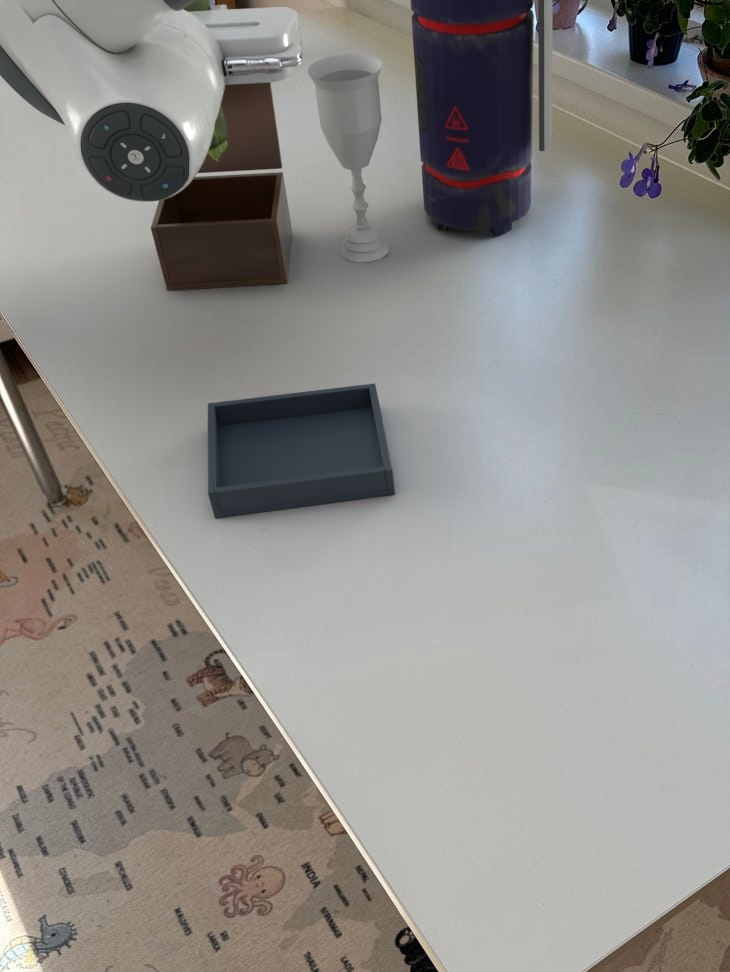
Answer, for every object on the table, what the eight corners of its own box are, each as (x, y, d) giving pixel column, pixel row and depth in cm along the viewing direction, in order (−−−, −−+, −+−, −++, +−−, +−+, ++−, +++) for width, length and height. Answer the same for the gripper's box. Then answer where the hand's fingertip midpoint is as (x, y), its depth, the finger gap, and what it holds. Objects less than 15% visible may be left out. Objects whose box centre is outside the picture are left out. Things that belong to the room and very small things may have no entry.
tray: (214, 518, 81) (207, 493, 79) (213, 427, 89) (207, 403, 87) (395, 494, 83) (392, 469, 81) (377, 407, 91) (375, 382, 89)
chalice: (370, 273, 107) (350, 86, 94) (318, 257, 110) (291, 73, 96) (410, 244, 111) (397, 61, 98) (359, 229, 114) (339, 49, 101)
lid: (263, 36, 101) (264, 35, 102) (136, 42, 101) (138, 41, 101) (281, 168, 108) (282, 167, 109) (163, 175, 108) (165, 173, 108)
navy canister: (409, 234, 113) (385, -98, 91) (442, 187, 120) (426, -129, 98) (534, 248, 110) (539, -91, 88) (558, 199, 118) (569, -124, 96)
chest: (287, 283, 106) (276, 220, 101) (166, 290, 106) (150, 227, 101) (292, 232, 114) (282, 171, 109) (180, 239, 113) (165, 178, 108)
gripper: (294, 20, 78) (301, -32, 88) (20, 34, 78) (57, -20, 87) (306, 109, 83) (312, 50, 92) (47, 123, 82) (80, 62, 92)
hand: (186, 16), depth 90 cm, fingers closed on vegetable, 4 cm apart
